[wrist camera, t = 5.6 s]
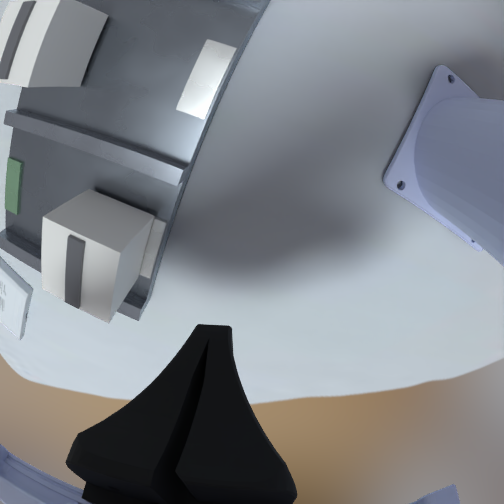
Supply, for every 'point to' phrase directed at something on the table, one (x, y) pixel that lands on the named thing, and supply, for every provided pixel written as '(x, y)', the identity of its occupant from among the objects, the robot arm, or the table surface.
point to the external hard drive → (13, 300)
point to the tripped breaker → (93, 252)
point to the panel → (125, 121)
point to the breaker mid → (47, 42)
